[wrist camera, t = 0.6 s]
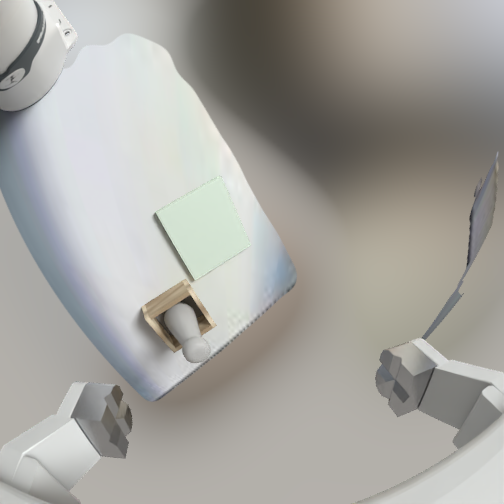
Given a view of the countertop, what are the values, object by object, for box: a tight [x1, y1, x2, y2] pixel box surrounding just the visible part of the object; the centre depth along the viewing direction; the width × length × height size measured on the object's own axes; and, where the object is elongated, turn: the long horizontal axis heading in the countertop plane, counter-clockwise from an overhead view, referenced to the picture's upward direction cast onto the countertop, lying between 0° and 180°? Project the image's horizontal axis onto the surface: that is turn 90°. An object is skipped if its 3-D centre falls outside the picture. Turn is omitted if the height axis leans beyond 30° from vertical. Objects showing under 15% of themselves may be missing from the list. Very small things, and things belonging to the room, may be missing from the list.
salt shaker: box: [164, 302, 211, 363], centre depth 44 cm, size 6×6×13 cm
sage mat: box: [156, 176, 251, 281], centre depth 46 cm, size 14×12×1 cm
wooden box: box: [142, 279, 217, 353], centre depth 48 cm, size 10×10×4 cm
